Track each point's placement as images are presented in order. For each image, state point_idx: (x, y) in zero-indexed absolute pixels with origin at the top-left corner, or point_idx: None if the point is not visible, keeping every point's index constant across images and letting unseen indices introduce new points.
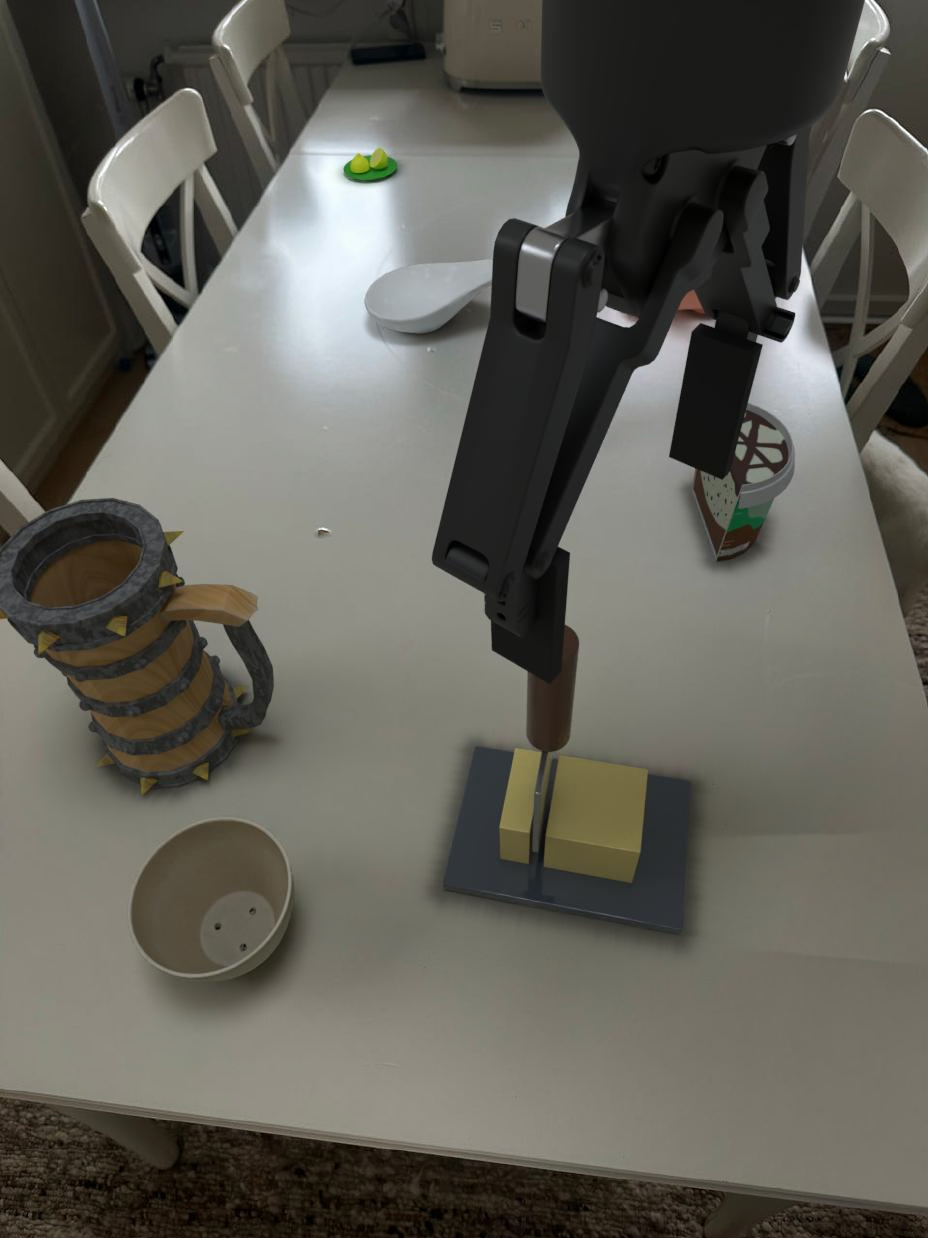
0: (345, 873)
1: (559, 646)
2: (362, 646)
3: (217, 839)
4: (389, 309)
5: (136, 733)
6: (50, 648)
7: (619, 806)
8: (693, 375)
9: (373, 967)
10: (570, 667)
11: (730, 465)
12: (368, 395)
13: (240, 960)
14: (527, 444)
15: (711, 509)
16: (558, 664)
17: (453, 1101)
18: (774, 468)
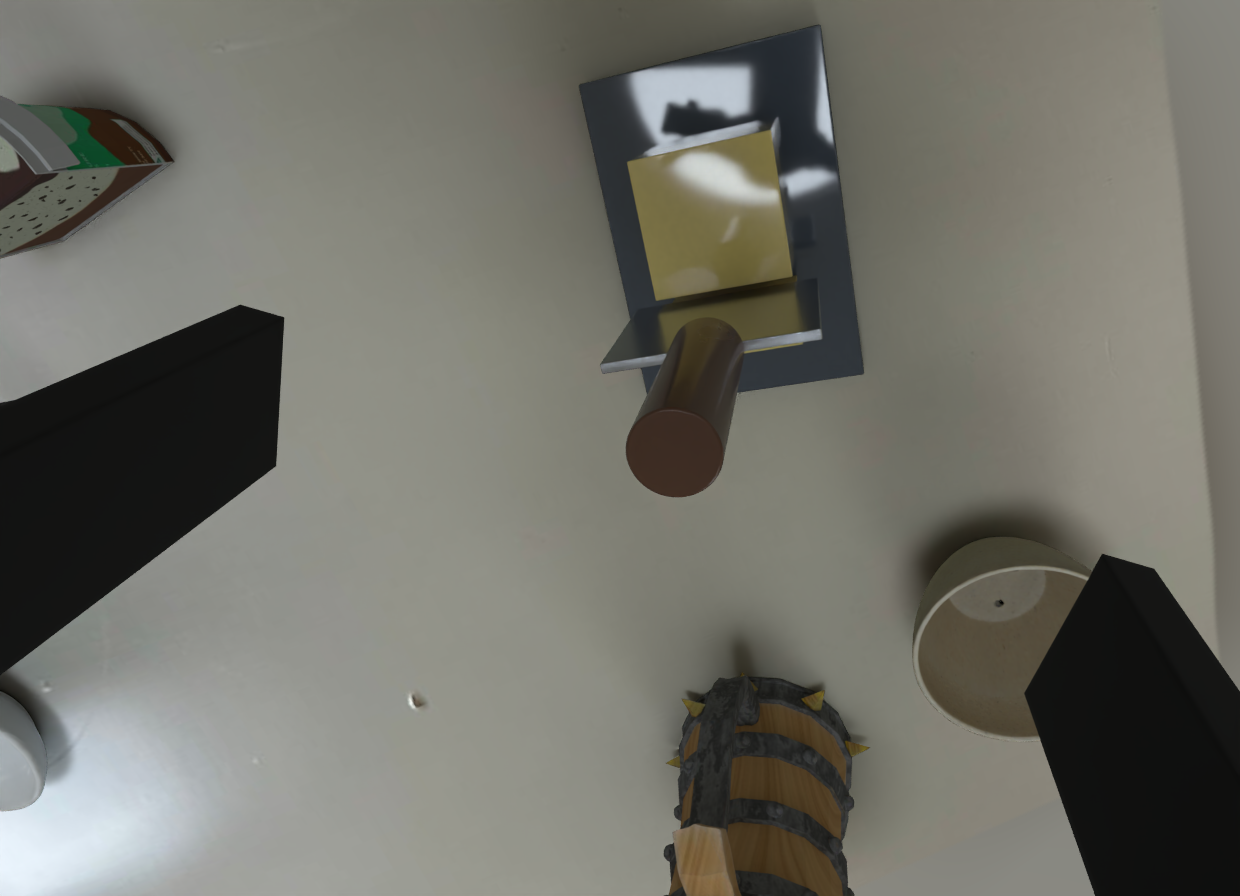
0: (881, 491)
1: (1168, 633)
2: (560, 592)
3: (931, 667)
4: (14, 766)
5: (835, 812)
6: None
7: (705, 185)
8: (69, 592)
9: (991, 413)
10: (700, 401)
11: (233, 314)
12: (172, 732)
13: None
14: None
15: (89, 201)
16: (1135, 584)
17: (1135, 255)
18: None
